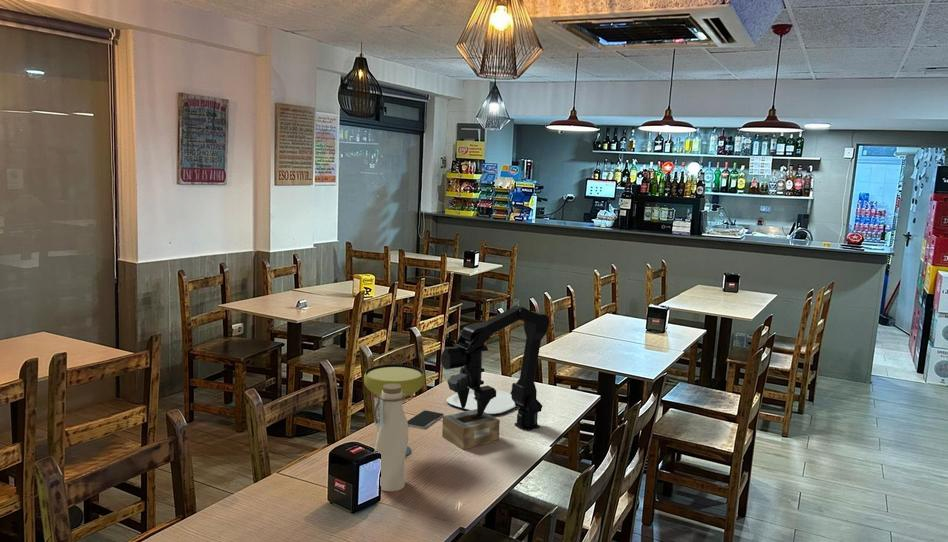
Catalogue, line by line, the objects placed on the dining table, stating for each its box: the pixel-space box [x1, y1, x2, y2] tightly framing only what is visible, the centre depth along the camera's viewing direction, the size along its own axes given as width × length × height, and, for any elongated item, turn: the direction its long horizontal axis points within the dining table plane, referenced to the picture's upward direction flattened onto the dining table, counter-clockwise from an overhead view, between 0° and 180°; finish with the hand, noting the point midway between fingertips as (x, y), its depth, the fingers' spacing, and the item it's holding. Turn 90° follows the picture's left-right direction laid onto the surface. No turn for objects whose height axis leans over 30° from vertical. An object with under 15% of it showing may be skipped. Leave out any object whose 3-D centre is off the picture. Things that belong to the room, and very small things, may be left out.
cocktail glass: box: [363, 363, 425, 457], centre depth 205 cm, size 18×18×25 cm
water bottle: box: [373, 384, 409, 492], centre depth 182 cm, size 10×9×28 cm
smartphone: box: [407, 409, 445, 430], centre depth 234 cm, size 8×1×15 cm
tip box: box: [441, 409, 501, 450], centre depth 218 cm, size 14×12×7 cm
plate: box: [445, 388, 517, 415], centre depth 254 cm, size 25×25×2 cm
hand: (471, 412), depth 217 cm, fingers open, 9 cm apart
